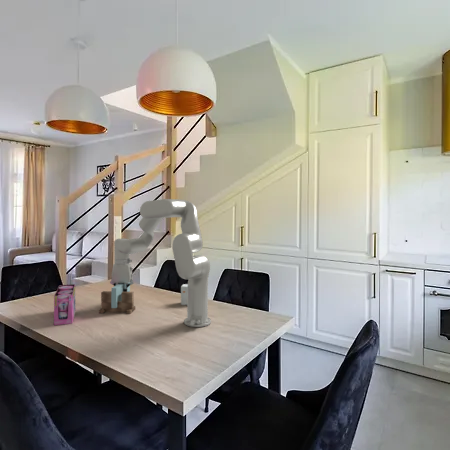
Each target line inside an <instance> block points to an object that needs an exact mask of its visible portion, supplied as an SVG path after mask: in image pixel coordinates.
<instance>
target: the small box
mask: <svg viewBox="0 0 450 450" xmlns="http://www.w3.org/2000/svg"><path fill="white" fill-rule="evenodd" d="M187 286H188V283H185V284H184V283H183V284H182V285H181V286H180V305H181V306H187Z"/></svg>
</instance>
